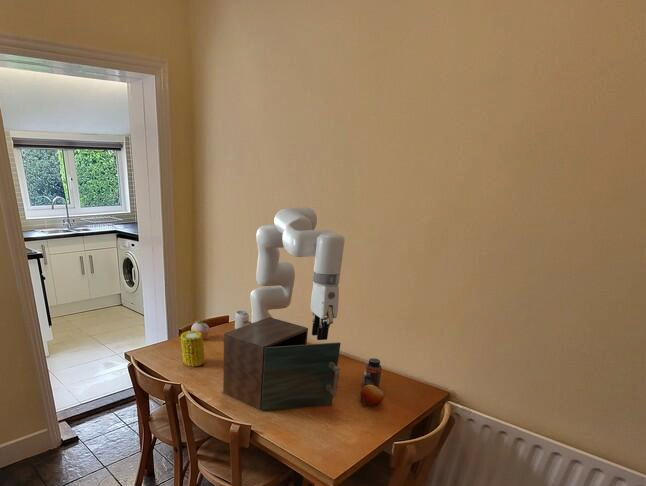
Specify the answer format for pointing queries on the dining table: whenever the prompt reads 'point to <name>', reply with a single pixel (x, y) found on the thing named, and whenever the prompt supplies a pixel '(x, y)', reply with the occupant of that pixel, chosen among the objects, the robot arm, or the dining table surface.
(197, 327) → the decorative fruit
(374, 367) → the supplement bottle
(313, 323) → the robot arm
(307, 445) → the dining table surface
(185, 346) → the food
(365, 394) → the fruit
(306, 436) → the dining table surface
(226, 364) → the cupboard
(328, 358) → the door
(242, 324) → the beverage can
